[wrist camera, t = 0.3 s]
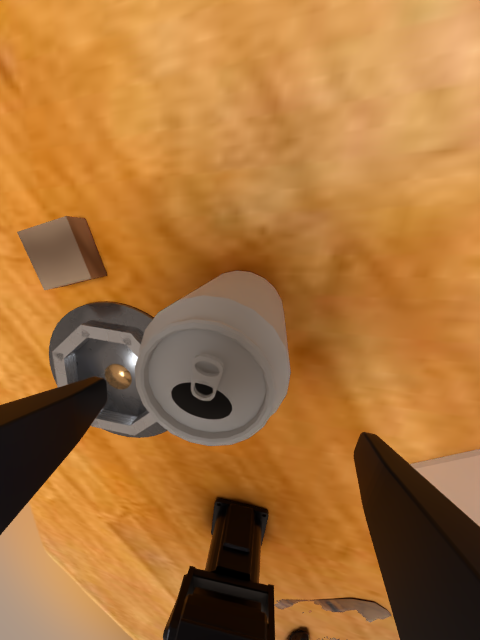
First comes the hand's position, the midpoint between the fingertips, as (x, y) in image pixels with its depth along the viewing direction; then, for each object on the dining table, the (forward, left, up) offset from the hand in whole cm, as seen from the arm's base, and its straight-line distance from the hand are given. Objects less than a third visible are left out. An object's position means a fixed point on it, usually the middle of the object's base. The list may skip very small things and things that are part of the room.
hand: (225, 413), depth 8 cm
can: (0, +1, -14) cm, 14 cm away
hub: (-9, +13, -13) cm, 21 cm away
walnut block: (+3, +17, -13) cm, 22 cm away
